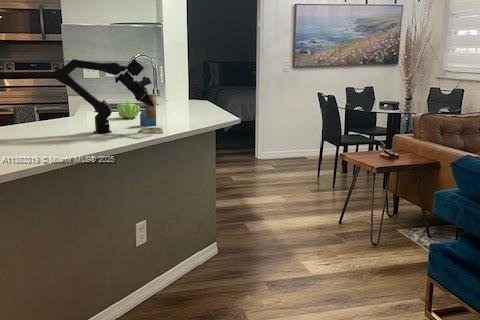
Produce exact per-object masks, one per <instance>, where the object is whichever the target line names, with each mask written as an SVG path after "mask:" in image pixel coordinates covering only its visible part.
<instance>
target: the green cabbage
mask: <svg viewBox="0 0 480 320" xmlns="http://www.w3.org/2000/svg"><path fill="white" fill-rule="evenodd" d="M116 111H117V112H118V116H119V117H121V120H122V119H123V120H124V119H127V118H128V120H132V119H136V118H137V117H138V115H139V113H141V109H140V105H137V104H136V103H131V102H130V101H126V103H122V104H119V103H118V104H117V106H116Z"/></svg>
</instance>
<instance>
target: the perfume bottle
mask: <svg viewBox="0 0 480 320" xmlns="http://www.w3.org/2000/svg"><path fill="white" fill-rule="evenodd" d="M139 113H140V114H139V123H140V125H139V126H141V127H144V128H151V127H157V118H156V119H146V104H145V103H144V109H142V111H140V112H139ZM150 126H151V127H150Z"/></svg>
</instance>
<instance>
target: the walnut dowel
mask: <svg viewBox="0 0 480 320" xmlns="http://www.w3.org/2000/svg"><path fill="white" fill-rule="evenodd" d="M148 97H149V98H150V100H151V101H152V103H153V104H154V106H153V107H152V106H150V105H148V104H146V119H156V120H157V102H156V101H157V99H156V94H155V93H148Z"/></svg>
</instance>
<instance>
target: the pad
mask: <svg viewBox="0 0 480 320" xmlns="http://www.w3.org/2000/svg"><path fill="white" fill-rule="evenodd" d="M122 137H123V138H127V139H129V138H131V139H136V140H140V139H145V138H149V137H153V134H142V133H140V132H135V133H129V134H126V135H125V134H124V135H122Z"/></svg>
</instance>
